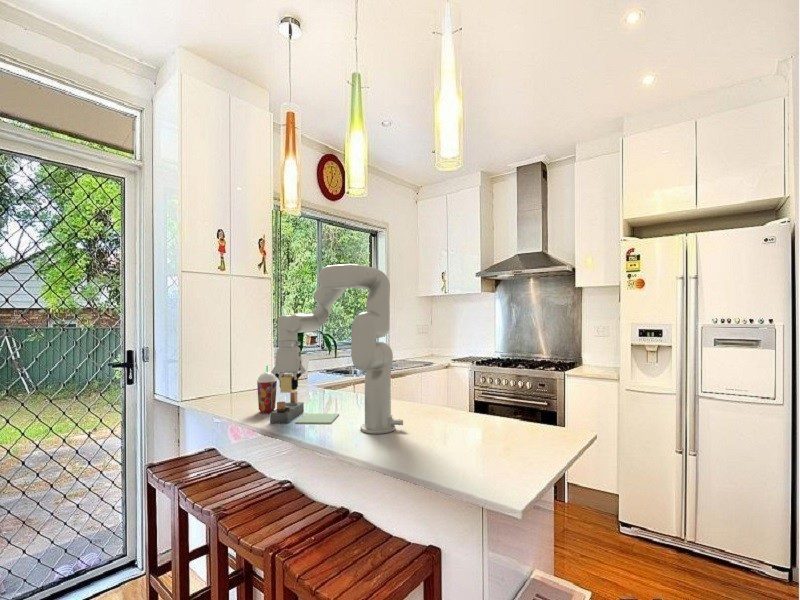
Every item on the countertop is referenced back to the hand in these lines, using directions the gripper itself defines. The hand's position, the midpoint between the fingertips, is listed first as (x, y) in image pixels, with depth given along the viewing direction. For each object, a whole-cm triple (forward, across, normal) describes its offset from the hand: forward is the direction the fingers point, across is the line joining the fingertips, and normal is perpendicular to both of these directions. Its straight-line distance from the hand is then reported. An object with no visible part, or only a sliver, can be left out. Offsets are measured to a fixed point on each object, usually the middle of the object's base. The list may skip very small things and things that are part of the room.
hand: (288, 388), depth 167 cm
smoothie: (+11, +13, -9) cm, 20 cm away
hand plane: (+12, +1, 0) cm, 12 cm away
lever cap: (+1, 0, 0) cm, 1 cm away
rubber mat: (+12, -13, +3) cm, 18 cm away
